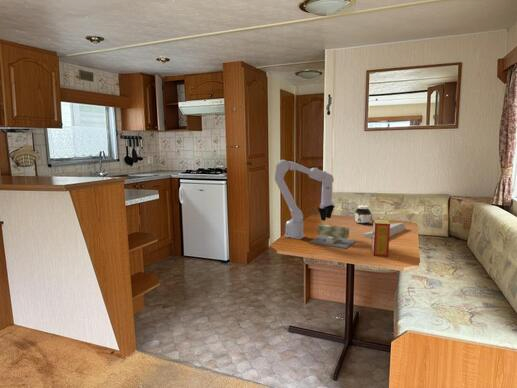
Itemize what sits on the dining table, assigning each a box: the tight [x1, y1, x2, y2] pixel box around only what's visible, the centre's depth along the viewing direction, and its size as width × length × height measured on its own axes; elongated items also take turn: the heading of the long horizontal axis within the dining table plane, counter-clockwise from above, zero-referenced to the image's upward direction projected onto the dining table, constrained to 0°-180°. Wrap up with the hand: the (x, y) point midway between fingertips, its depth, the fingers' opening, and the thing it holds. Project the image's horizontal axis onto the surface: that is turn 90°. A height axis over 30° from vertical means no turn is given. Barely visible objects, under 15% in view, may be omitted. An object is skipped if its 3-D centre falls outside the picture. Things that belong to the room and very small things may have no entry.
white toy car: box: [354, 204, 376, 226], centre depth 240 cm, size 12×11×12 cm
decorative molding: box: [363, 222, 406, 239], centre depth 216 cm, size 34×5×10 cm
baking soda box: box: [371, 218, 391, 257], centre depth 176 cm, size 10×6×16 cm
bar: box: [317, 223, 350, 239], centre depth 195 cm, size 16×4×5 cm, turn 58°
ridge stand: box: [309, 235, 357, 250], centre depth 195 cm, size 20×16×4 cm
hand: (326, 219), depth 204 cm, fingers open, 7 cm apart
